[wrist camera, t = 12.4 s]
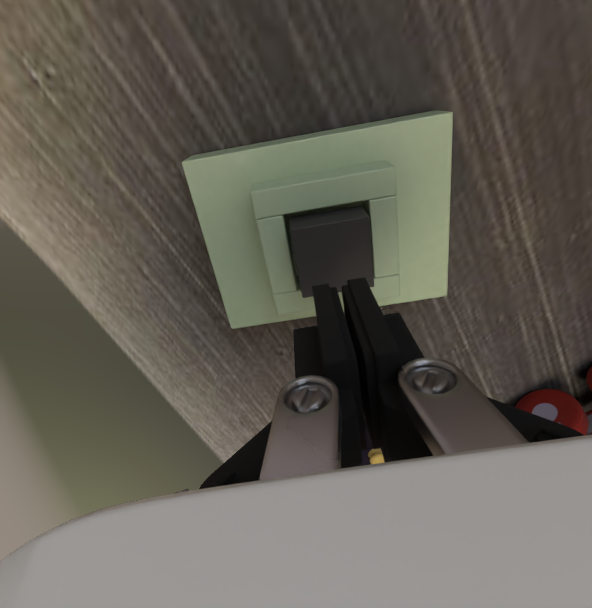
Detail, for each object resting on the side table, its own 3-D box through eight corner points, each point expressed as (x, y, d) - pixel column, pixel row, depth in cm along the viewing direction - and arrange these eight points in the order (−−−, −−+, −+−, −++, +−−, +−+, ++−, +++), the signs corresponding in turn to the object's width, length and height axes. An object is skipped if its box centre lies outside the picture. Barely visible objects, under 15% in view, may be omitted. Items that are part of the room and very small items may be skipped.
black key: (301, 281, 18) (302, 298, 17) (289, 217, 17) (290, 229, 15) (367, 271, 18) (374, 287, 16) (361, 204, 16) (369, 215, 15)
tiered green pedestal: (235, 310, 23) (226, 348, 19) (191, 155, 19) (169, 168, 15) (433, 278, 22) (461, 312, 19) (435, 110, 18) (471, 112, 14)
